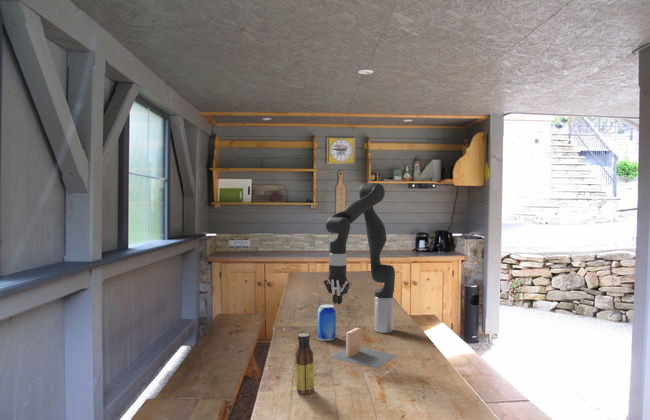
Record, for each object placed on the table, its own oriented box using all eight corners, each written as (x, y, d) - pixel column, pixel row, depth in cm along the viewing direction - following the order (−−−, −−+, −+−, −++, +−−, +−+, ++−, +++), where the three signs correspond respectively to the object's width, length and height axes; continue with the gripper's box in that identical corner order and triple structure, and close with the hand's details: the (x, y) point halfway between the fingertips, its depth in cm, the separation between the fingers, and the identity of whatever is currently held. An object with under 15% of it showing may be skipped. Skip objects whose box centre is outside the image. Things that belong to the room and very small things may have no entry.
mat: (351, 347, 207) (351, 345, 207) (396, 356, 195) (396, 355, 195) (329, 358, 192) (329, 357, 192) (377, 369, 180) (377, 368, 180)
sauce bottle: (314, 387, 163) (314, 331, 162) (314, 395, 156) (314, 337, 156) (295, 388, 162) (295, 331, 162) (295, 395, 156) (295, 337, 156)
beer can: (320, 342, 212) (320, 308, 212) (315, 337, 220) (315, 304, 220) (337, 341, 215) (338, 307, 214) (332, 336, 223) (332, 303, 222)
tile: (356, 350, 200) (356, 327, 200) (360, 351, 199) (360, 328, 199) (345, 356, 193) (346, 332, 192) (349, 357, 192) (349, 333, 191)
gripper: (355, 263, 199) (355, 304, 199) (328, 261, 206) (328, 300, 207) (347, 266, 192) (346, 307, 193) (319, 263, 200) (319, 303, 200)
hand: (337, 303), depth 200 cm, fingers closed
